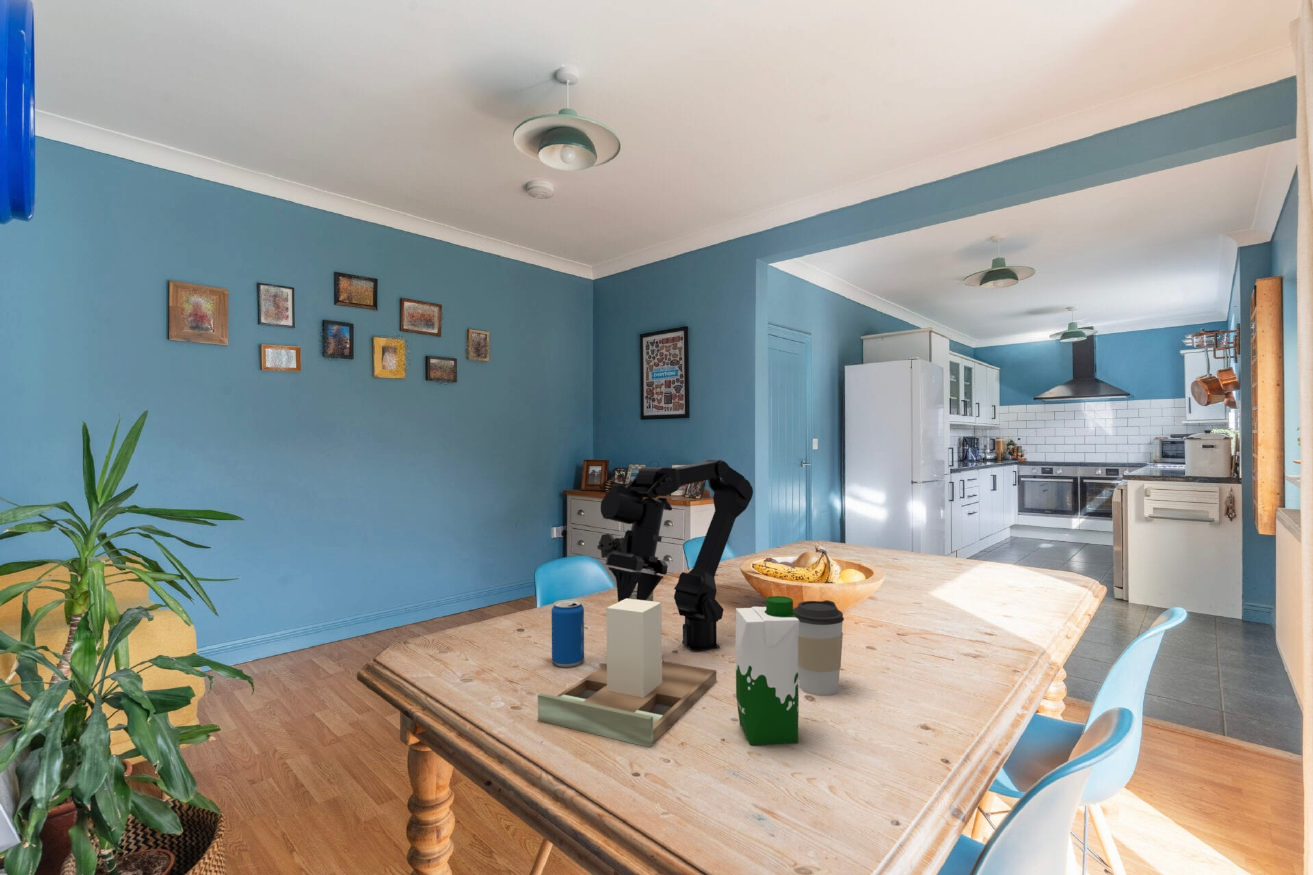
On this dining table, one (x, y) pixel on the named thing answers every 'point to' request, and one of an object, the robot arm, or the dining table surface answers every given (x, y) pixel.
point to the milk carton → (768, 671)
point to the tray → (627, 704)
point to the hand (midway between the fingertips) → (630, 607)
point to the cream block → (634, 647)
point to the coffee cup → (819, 646)
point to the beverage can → (567, 633)
